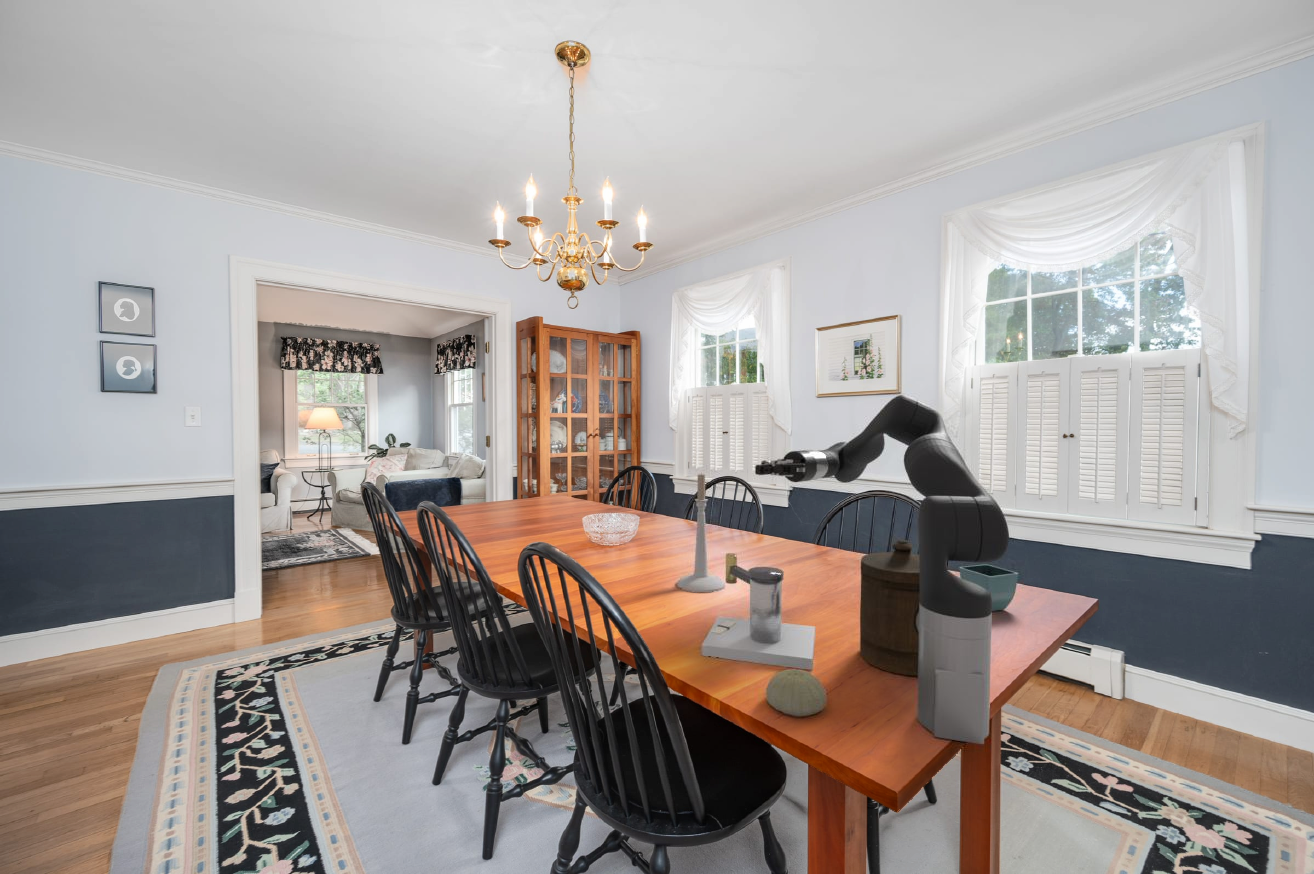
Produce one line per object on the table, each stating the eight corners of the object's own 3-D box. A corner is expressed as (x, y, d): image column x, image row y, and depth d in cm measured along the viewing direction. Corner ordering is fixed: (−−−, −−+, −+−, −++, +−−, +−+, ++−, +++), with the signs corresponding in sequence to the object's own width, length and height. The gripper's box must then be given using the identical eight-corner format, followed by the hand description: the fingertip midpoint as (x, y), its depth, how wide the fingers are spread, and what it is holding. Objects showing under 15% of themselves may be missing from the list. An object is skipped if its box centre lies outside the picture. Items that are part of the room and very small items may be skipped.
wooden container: (947, 683, 93) (946, 552, 93) (854, 666, 100) (852, 544, 100) (949, 650, 106) (948, 535, 106) (866, 637, 113) (865, 529, 113)
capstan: (789, 639, 106) (790, 574, 106) (759, 644, 104) (760, 577, 103) (741, 608, 123) (742, 551, 123) (714, 612, 121) (715, 554, 121)
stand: (812, 670, 99) (812, 656, 99) (701, 655, 105) (701, 642, 105) (815, 636, 114) (815, 624, 114) (718, 625, 120) (718, 614, 120)
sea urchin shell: (750, 695, 86) (771, 648, 90) (770, 717, 90) (789, 671, 94) (803, 717, 80) (823, 665, 84) (822, 739, 84) (840, 689, 88)
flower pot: (957, 603, 134) (957, 566, 134) (985, 599, 137) (986, 563, 136) (988, 616, 126) (989, 576, 125) (1018, 611, 128) (1019, 573, 128)
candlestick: (700, 595, 140) (700, 476, 139) (667, 584, 150) (667, 472, 149) (735, 586, 148) (735, 473, 147) (701, 575, 158) (701, 469, 157)
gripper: (783, 449, 142) (736, 451, 131) (828, 451, 132) (781, 455, 121) (783, 478, 142) (736, 483, 132) (828, 483, 132) (780, 489, 121)
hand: (757, 470), depth 126 cm, fingers closed
